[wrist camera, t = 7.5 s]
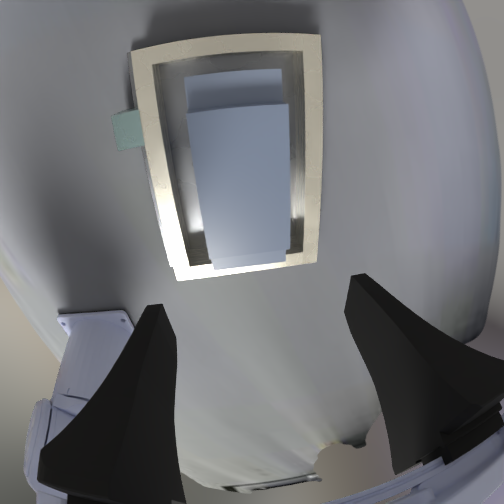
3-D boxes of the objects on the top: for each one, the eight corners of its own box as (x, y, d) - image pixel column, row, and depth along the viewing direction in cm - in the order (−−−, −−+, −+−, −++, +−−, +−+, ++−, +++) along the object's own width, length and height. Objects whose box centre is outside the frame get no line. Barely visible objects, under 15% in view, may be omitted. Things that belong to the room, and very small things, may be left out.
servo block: (270, 221, 20) (289, 272, 15) (212, 228, 19) (213, 282, 15) (263, 69, 14) (287, 68, 9) (191, 76, 14) (181, 77, 9)
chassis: (315, 242, 22) (326, 263, 20) (161, 262, 21) (157, 285, 19) (317, 36, 13) (333, 31, 11) (117, 57, 12) (102, 55, 10)
